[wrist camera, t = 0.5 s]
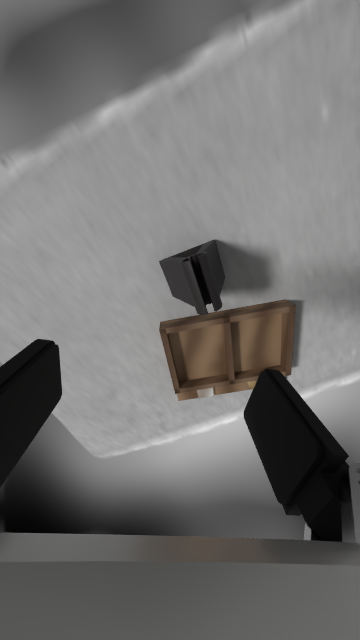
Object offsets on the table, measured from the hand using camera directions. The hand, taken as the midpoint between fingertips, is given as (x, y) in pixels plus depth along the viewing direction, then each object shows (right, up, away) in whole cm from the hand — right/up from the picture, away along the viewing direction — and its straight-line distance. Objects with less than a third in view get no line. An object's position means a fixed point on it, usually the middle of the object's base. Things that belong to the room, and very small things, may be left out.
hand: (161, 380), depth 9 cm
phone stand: (+3, +11, +22) cm, 25 cm away
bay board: (+10, -4, +28) cm, 30 cm away
